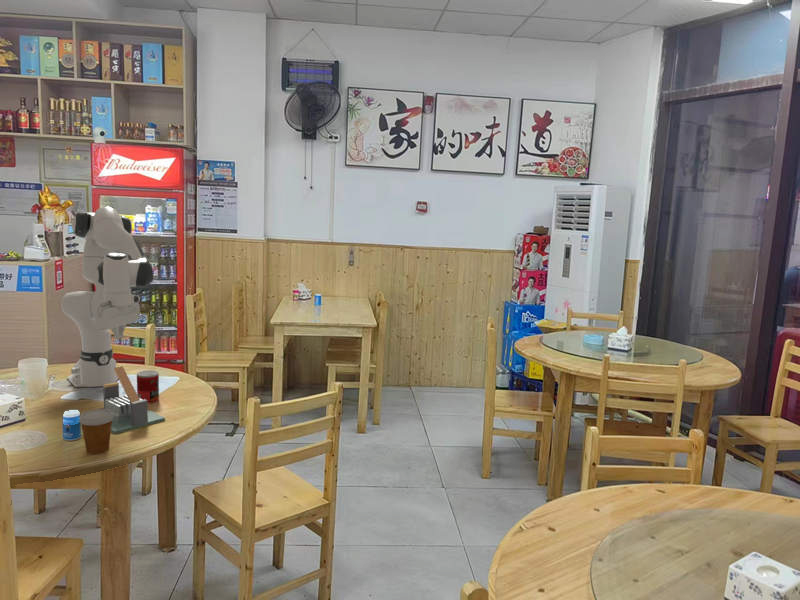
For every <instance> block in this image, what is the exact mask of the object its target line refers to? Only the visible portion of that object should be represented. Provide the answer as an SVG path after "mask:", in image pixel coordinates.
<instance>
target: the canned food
mask: <svg viewBox="0 0 800 600" xmlns="http://www.w3.org/2000/svg"><path fill="white" fill-rule="evenodd" d="M159 376H160V375H159V372H158V371H156V370H142V371H139V372H136V389H137V392H136V393H137V395H138V397H139V398H140V399H142V400H144V399H145V400H147V404H151V403H152V404H153V403H156V402H158V401H159V398H160V389H159V388H160V382H159V379H160V377H159Z"/></svg>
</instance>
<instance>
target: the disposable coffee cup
mask: <svg viewBox="0 0 800 600" xmlns="http://www.w3.org/2000/svg"><path fill="white" fill-rule="evenodd" d="M113 417H114V415H113V414H112V411H110V410H107V409H102V408H97V409H90V410H87V411H84V412H82V413H81V414H80V417H79V419H78V421H79V422H80V424H81V427H82V428H81V429H82V434H83V441H84V445H85V450H86V454H89V455H100V454H104V453H106V452H108V451H109V450H110V441H111V434H112V432H111V425H112V419H113Z"/></svg>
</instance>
